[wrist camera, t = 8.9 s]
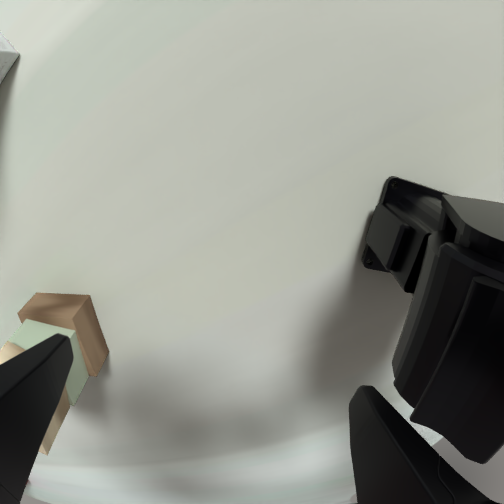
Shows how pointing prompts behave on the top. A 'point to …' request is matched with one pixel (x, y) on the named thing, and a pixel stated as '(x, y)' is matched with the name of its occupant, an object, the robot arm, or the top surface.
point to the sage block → (38, 332)
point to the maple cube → (11, 351)
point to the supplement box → (6, 55)
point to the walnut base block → (71, 323)
